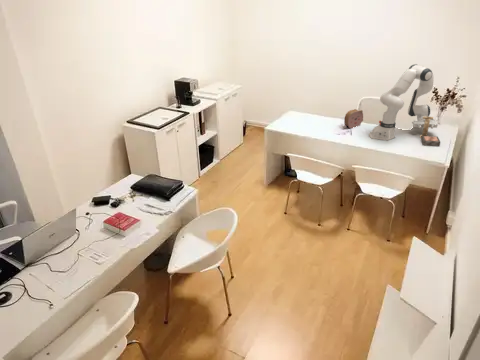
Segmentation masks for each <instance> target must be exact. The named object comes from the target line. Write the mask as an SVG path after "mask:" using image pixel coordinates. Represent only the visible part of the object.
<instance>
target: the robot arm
mask: <svg viewBox="0 0 480 360" xmlns="http://www.w3.org/2000/svg"><path fill="white" fill-rule="evenodd" d="M415 79H416V80H419V83H418V87H417V88H416V89H414V91H413V94H412V97H411V100H410V102H409V103H410V104H409V106H408V109H407V114H408V115H409V116H410V117H416V120H413V121H411V124H412V127H414V128H419V129H422V128H424V123H425V119H423V117H430V115H431V107H430V106H429V104H419V105H416V104H417V101H418V98H420V97H421V96H424V95H427V94H428V93H430V92H431V91H432V90H433V87H434V73H433V70H432V69H430V68H428V67H425V66H424V65H420V64H417V63H415V64H412V65H410V66H409V68H407V69H406V71H404V72H403V74H402V75H401V76H400V77H399V79H398V80H397V82H396V83H395V84H394V86H393V87H392V88H391V89H390V90H387V91H386V92H384V93H382V94H381V95H380V100H379V101H380V103H381V104H382V105H384V106H386V107H387V109H386V111H385V112H383V114H382V120H379V121H378V123H379V124H378V125H377V126H375V127H374V128H372V130H371V131H370V132H369V133H368V136H369V137H368V138H370V139H371V140H372V139H374V140H382V141H383V140H384V141H390V140H393V139H394V138H396V137H395V136H396V134H395V129H396V125H397V124H396V120H397V115H398V112H399V111H400V110H402V108H403V107H404V105H405V101H404V99H402V98H401V97H400V96H401V95H403V94H406V93H407V91H408V90H409V89H410V87H411V86H412V85H413V83H414V81H415ZM438 125H439V123H438V122H437V121H436V119H435V118H433V119H430V123H429V128H430V129H434V128H435V129H437V128H438ZM429 128H428V129H429Z"/></svg>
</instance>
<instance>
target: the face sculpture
mask: <svg viewBox="0 0 480 360" xmlns="http://www.w3.org/2000/svg"><path fill="white" fill-rule="evenodd" d="M363 112H364V111H363V110H362V109H360V110H358V109H356V108H355V109H351V110H349V111H347V112H346V114H345V115H344V120H343V121H344V122H343V123H344V126H345V127H347V126H348V127H347V128H349V129H354V128H357V127H359V126H360V125H361V124H362V122H363V121H364V113H363ZM356 126H357V127H356ZM353 127H354V128H353Z"/></svg>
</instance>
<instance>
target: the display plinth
mask: <svg viewBox="0 0 480 360" xmlns="http://www.w3.org/2000/svg"><path fill="white" fill-rule="evenodd" d="M420 142H421V144H422V146H423V145H424V146H425V147H440V146H441V140H440V138H439V137H438V136H436V135H435V136H433V135H432V136H431V135H427V136H422V137H421V138H420Z"/></svg>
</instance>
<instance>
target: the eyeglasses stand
mask: <svg viewBox="0 0 480 360" xmlns="http://www.w3.org/2000/svg"><path fill="white" fill-rule="evenodd" d="M423 119H425V123H424V127H422V128H423V129H422V134H421V135H419V138H420V139H421V137H422V136H428V132H429V123H430V119H434V116H429V117H423Z"/></svg>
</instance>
